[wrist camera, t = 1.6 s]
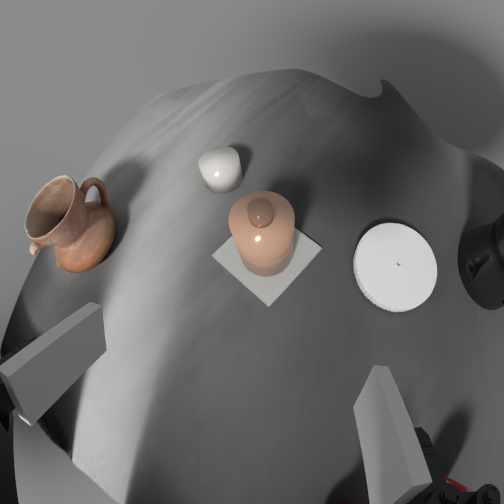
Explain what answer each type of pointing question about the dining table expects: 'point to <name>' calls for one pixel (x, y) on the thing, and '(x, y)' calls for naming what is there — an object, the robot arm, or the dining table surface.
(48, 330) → the robot arm
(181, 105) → the dining table surface
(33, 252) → the ceramic jug
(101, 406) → the dining table surface
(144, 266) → the dining table surface
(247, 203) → the bottle
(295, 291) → the dining table surface
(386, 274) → the plastic lid
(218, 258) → the mat
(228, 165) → the white rounded cylinder
